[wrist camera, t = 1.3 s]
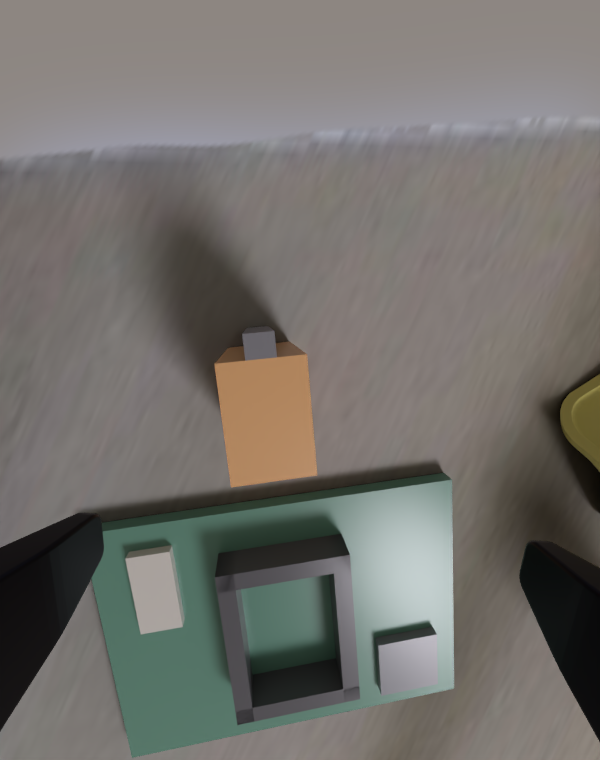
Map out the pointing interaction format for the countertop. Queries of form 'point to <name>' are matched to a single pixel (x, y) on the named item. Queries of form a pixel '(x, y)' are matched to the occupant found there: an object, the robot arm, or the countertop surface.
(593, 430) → the plastic component
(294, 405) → the keyed plug
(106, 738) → the countertop surface
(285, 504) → the board
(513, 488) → the countertop surface
